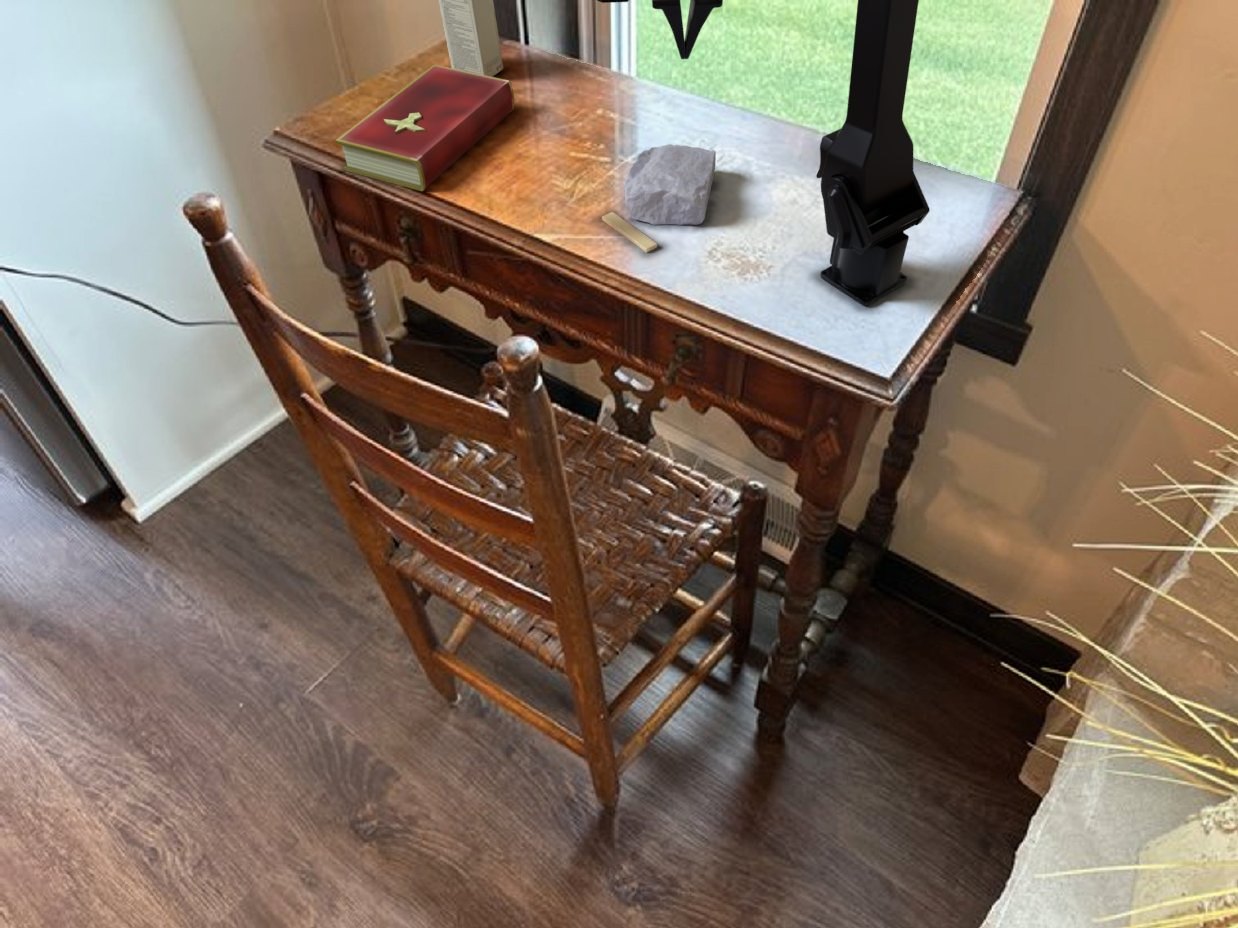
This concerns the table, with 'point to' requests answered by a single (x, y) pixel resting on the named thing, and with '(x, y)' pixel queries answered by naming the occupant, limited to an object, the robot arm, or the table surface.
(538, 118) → the table surface
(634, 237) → the maple strip
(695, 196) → the stone block
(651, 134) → the table surface
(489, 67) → the cosmetic box
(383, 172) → the hardcover book
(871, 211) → the robot arm
